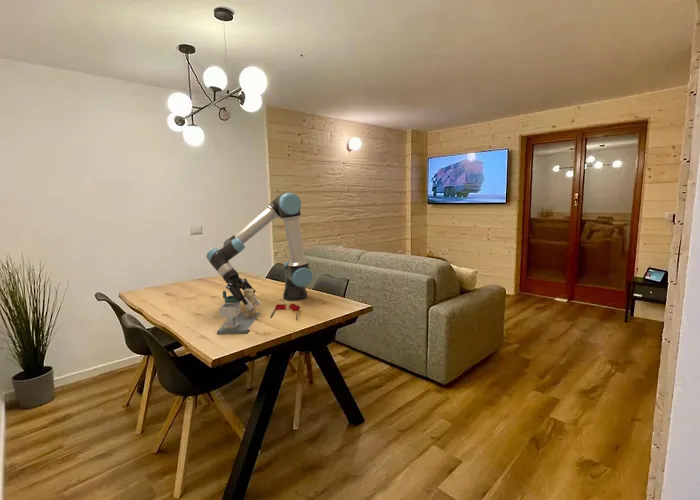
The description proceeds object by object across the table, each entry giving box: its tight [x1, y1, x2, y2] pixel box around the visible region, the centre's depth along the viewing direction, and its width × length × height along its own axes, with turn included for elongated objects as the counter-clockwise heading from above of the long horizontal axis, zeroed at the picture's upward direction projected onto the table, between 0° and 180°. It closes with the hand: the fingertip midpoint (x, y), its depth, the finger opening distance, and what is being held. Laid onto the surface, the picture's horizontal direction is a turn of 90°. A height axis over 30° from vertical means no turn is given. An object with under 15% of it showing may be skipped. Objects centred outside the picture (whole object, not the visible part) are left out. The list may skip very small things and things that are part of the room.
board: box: [216, 312, 261, 335], centre depth 179 cm, size 14×26×2 cm, turn 1°
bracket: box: [222, 290, 241, 304], centre depth 211 cm, size 9×9×9 cm
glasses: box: [270, 303, 301, 321], centre depth 189 cm, size 14×16×5 cm
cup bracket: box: [218, 302, 242, 329], centre depth 170 cm, size 8×8×11 cm
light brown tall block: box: [243, 288, 256, 317], centre depth 186 cm, size 4×4×14 cm
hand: (255, 306), depth 184 cm, fingers closed on light brown tall block, 5 cm apart
